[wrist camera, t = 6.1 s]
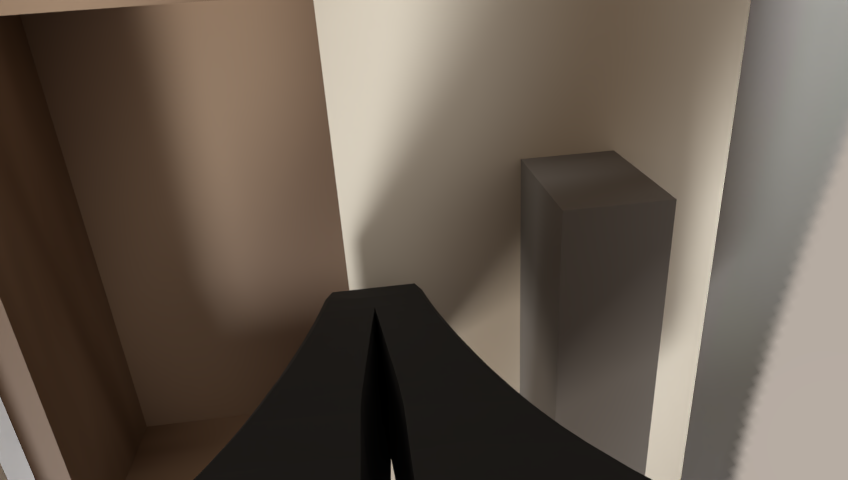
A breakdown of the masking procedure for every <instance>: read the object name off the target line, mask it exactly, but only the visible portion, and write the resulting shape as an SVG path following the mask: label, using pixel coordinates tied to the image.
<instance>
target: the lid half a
mask: <svg viewBox="0 0 848 480" xmlns="http://www.w3.org/2000/svg"><path fill="white" fill-rule="evenodd" d="M0 480H7V478H6V475H5V473H4V471H3V469H2V466H1V464H0Z"/></svg>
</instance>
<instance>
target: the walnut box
mask: <svg viewBox="0 0 848 480" xmlns="http://www.w3.org/2000/svg"><path fill="white" fill-rule="evenodd" d="M348 290H349V283H348V275H347V267H346V259H345V251H344V243H343V235H342V227H341V219H340V210H339V202H338V194H337V186H336V178H335V170H334V162H333V154H332V146H331V138H330V130H329V122H328V114H327V106H326V98H325V90H324V82H323V74H322V66H321V58H320V49H319V41H318V33H317V25H316V17H315V9H314V1H313V0H0V397H1V399H2V402H3V404H4V406H5V409H6V411H7V414H8V416H9V418H10V421H11V423H12V425H13V428H14V430H15V433H16V435H17V437H18V440H19V442H20V444H21V447H22V449H23V451H24V454H25V456H26V459H27V461H28V463H29V466H30V468H31V470H32V473H33V475H34V478H35V480H193V479H194V478H195V477H196V476H198V475H199V473H200V472H201V471H202V470H203V469H204V468H205V467H206V466H207V465H208V464H209V463H210V462H211V461H212V460H213V459H214V458H215V456H216V455H217V454H218V453H219V452H220V451H221V450H222V449H223V448H224V447H225V446H226V444H227V443H228V442H229V441H230V440H231V439H232V438H233V436H234V435H235V434H236V433H237V432H238V431H239V429H240V428H241V427H242V426H243V425H244V423H245V422H246V421H247V420H248V419H249V417H250V416H251V415H252V414H253V412H254V411H255V410H256V408H257V407H258V406H259V404H260V403H261V402H262V400H263V399H264V398H265V396H266V395H267V394H268V392H269V391H270V390H271V388H272V387H273V386H274V384H275V383H276V382H277V380H278V379H279V378H280V376H281V375H282V373H283V372H284V370H285V369H286V367H287V366H288V364H289V363H290V361H291V359H292V358H293V356H294V355H295V353H296V352H297V350H298V349H299V347H300V346H301V344H302V342H303V341H304V339H305V337H306V336H307V334H308V332H309V331H310V329H311V327H312V325H313V324H314V322H315V320H316V318H317V316H318V314H319V312H320V310H321V308H322V306H323V304H324V302H325V300H326V299H327V298H328V297H329V295H330V294H331V293H332V292H339V291H348Z"/></svg>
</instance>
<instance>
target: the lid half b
mask: <svg viewBox="0 0 848 480" xmlns="http://www.w3.org/2000/svg"><path fill="white" fill-rule="evenodd" d="M313 1H314V9H315V17H316V25H317V33H318V41H319V49H320V58H321V66H322V74H323V82H324V90H325V98H326V106H327V114H328V122H329V130H330V138H331V146H332V154H333V162H334V170H335V178H336V186H337V194H338V202H339V210H340V219H341V227H342V235H343V243H344V251H345V259H346V267H347V275H348V283H349V290H357V289H367V288H376V287H385V286H394V285H404V284H413V283H415V284H416V285H417V286H418V287H420V288H421V289H422V290H423V292H424V293H425V295H426V296H427V298H428V299H429V301H430V302H431V303H432V305H433V306H434V307H435V309H436V310H437V311H438V312H439V314H440V315H441V316H442V317H443V318H444V320H445V321H446V322H447V323H448V324H449V326H450V327H451V328H452V329H453V330H454V331H455V332H456V333H457V334H458V336H459V337H460V338H461V339H462V340H463V341H464V342H465V343H466V344H467V345H468V346H469V347H470V348H471V349H472V350H473V351H474V352H475V353H476V354H477V355H478V356H479V357H480V358H481V359H482V360H483V361H484V362H485V363H486V364H487V365H488V366H489V367H490V368H491V369H492V370H493V371H494V372H496V373H497V374H498V375H499V376H500V377H501V378H502V379H503V380H504V381H506V382H507V383H508V384H509V385H510V386H511V387H512V388H513V389H515V390H516V391H517V392H518V393H520V394H521V395H522V396H523V397H524V398H526V399H527V400H528V401H529V402H531V403H532V404H533V405H534V406H536V407H537V408H538V409H539V410H541V411H542V412H544V413H545V414H546V415H548V416H549V417H550V418H552V419H553V420H555V421H556V422H557V423H559V424H560V425H561V426H563V427H564V428H566V429H567V430H569V431H570V432H572V433H574V434H575V435H577V436H578V437H580V438H581V439H583V440H584V441H586V442H587V443H589V444H591V445H593V446H594V447H596V448H598V449H599V450H601V451H603V452H604V453H606V454H608V455H609V456H611V457H613V458H614V459H616V460H618V461H619V462H621V463H623V464H624V465H626V466H628V467H630V468H631V469H633V470H635V471H637V472H639V473H641V474H642V475H644V476H646V477H648V478H650V479H652V480H681V474H682V467H683V460H684V453H685V447H686V440H687V433H688V426H689V419H690V412H691V406H692V399H693V392H694V385H695V378H696V372H697V365H698V358H699V351H700V344H701V337H702V331H703V324H704V317H705V310H706V303H707V297H708V290H709V283H710V276H711V269H712V263H713V256H714V249H715V242H716V235H717V228H718V222H719V215H720V208H721V201H722V194H723V188H724V181H725V174H726V167H727V160H728V153H729V147H730V140H731V133H732V126H733V119H734V113H735V106H736V99H737V92H738V85H739V78H740V72H741V65H742V58H743V51H744V44H745V38H746V31H747V24H748V17H749V10H750V3H751V0H313ZM391 480H395V475H394V470H393V465H392V460H391Z"/></svg>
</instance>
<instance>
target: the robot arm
mask: <svg viewBox="0 0 848 480" xmlns="http://www.w3.org/2000/svg"><path fill="white" fill-rule="evenodd" d="M391 460H392V465H393V470H394V475H395V480H652V479H650V478H648V477H646V476H644V475H642V474H641V473H639V472H637V471H635V470H633V469H631V468H630V467H628V466H626V465H624V464H623V463H621V462H619V461H618V460H616V459H614V458H613V457H611V456H609V455H608V454H606V453H604V452H603V451H601V450H599V449H598V448H596V447H594V446H593V445H591V444H589V443H587V442H586V441H584V440H583V439H581V438H580V437H578V436H577V435H575V434H574V433H572V432H570V431H569V430H567V429H566V428H564V427H563V426H561V425H560V424H559V423H557V422H556V421H555V420H553V419H552V418H550V417H549V416H548V415H546V414H545V413H544V412H542V411H541V410H539V409H538V408H537V407H536V406H534V405H533V404H532V403H531V402H529V401H528V400H527V399H526V398H524V397H523V396H522V395H521V394H520V393H518V392H517V391H516V390H515V389H513V388H512V387H511V386H510V385H509V384H508V383H507V382H506V381H504V380H503V379H502V378H501V377H500V376H499V375H498V374H497V373H496V372H494V371H493V370H492V369H491V368H490V367H489V366H488V365H487V364H486V363H485V362H484V361H483V360H482V359H481V358H480V357H479V356H478V355H477V354H476V353H475V352H474V351H473V350H472V349H471V348H470V347H469V346H468V345H467V344H466V343H465V342H464V341H463V340H462V339H461V338H460V337H459V336H458V334H457V333H456V332H455V331H454V330H453V329H452V328H451V327H450V326H449V324H448V323H447V322H446V321H445V320H444V318H443V317H442V316H441V315H440V314H439V312H438V311H437V310H436V309H435V307H434V306H433V305H432V303H431V302H430V301H429V299H428V298H427V296H426V295H425V293H424V292H423V290H422V289H421V288H420V287H418V286H417V285H416V284H415V283H413V284H404V285H394V286H385V287H376V288H367V289H357V290H348V291H339V292H332V293H331V294H330V295H329V297H328V298H327V299H326V300H325V302H324V304H323V306H322V308H321V310H320V312H319V314H318V316H317V318H316V320H315V322H314V324H313V325H312V327H311V329H310V331H309V332H308V334H307V336H306V337H305V339H304V341H303V342H302V344H301V346H300V347H299V349H298V350H297V352H296V353H295V355H294V356H293V358H292V359H291V361H290V363H289V364H288V366H287V367H286V369H285V370H284V372H283V373H282V375H281V376H280V378H279V379H278V380H277V382H276V383H275V384H274V386H273V387H272V388H271V390H270V391H269V392H268V394H267V395H266V396H265V398H264V399H263V400H262V402H261V403H260V404H259V406H258V407H257V408H256V410H255V411H254V412H253V414H252V415H251V416H250V417H249V419H248V420H247V421H246V422H245V423H244V425H243V426H242V427H241V428H240V429H239V431H238V432H237V433H236V434H235V435H234V436H233V438H232V439H231V440H230V441H229V442H228V443H227V444H226V446H225V447H224V448H223V449H222V450H221V451H220V452H219V453H218V454H217V455H216V456H215V458H214V459H213V460H212V461H211V462H210V463H209V464H208V465H207V466H206V467H205V468H204V469H203V470H202V471H201V472H200V473H199V475H198V476H196V477H195V478H194V479H193V480H391Z"/></svg>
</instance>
